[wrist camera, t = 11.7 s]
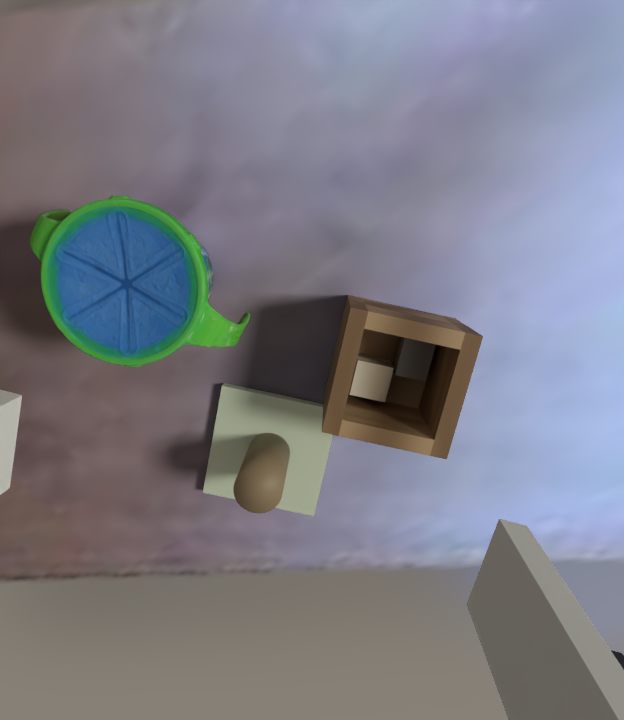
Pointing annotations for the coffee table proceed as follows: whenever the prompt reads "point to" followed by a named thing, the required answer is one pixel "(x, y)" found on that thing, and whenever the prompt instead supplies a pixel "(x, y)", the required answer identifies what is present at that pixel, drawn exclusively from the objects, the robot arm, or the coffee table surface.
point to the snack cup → (128, 282)
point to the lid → (267, 451)
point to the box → (398, 377)
